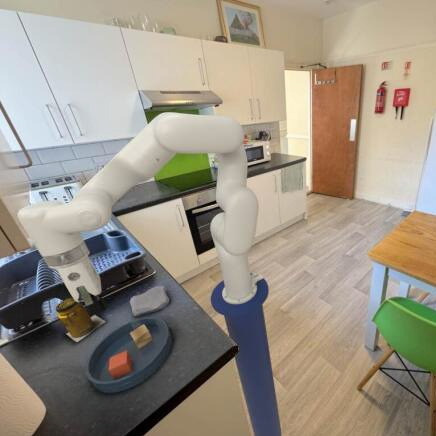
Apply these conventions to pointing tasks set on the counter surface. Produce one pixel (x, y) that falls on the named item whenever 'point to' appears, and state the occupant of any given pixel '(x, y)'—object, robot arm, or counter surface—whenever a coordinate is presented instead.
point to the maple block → (141, 336)
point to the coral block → (120, 364)
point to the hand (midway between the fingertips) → (99, 310)
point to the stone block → (149, 301)
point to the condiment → (77, 319)
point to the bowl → (141, 358)
